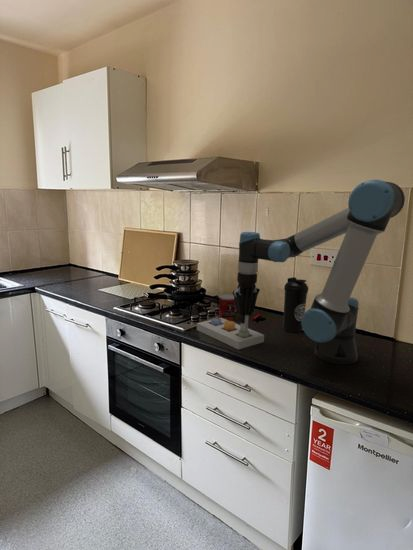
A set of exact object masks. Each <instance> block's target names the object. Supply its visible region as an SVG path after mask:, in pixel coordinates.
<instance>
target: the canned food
mask: <svg viewBox="0 0 413 550" xmlns="http://www.w3.org/2000/svg"><path fill="white" fill-rule="evenodd" d="M218 302H219V303H218V318H223V319H226V320H228V321H235V320H236V319H235V318H236V307H235V299H234V295H233V294H221V295H219V301H218Z"/></svg>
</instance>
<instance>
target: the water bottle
mask: <svg viewBox="0 0 413 550" xmlns="http://www.w3.org/2000/svg"><path fill="white" fill-rule="evenodd" d="M286 280H287V281H286V283H285V284H284V287H283V289H284V290H283V291H284V303H283V321H282V330H283V331H284V332H288V333H292V334H300V333H302V332H303V331H304V330H303V328H302V323H301V322H302V317H303V315H304V313H305V312H306V306H307V298H308V297H307V296H308V292H309V286H308V284H307V283H306V282H307V280H306V279H297V277H295V276H294V277H289V278H287V279H286Z"/></svg>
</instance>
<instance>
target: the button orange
mask: <svg viewBox="0 0 413 550" xmlns="http://www.w3.org/2000/svg"><path fill="white" fill-rule="evenodd" d="M235 323H236V322H235V320H233V321H225V322H224V330H226V331H228V332H231V331H235Z"/></svg>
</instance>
